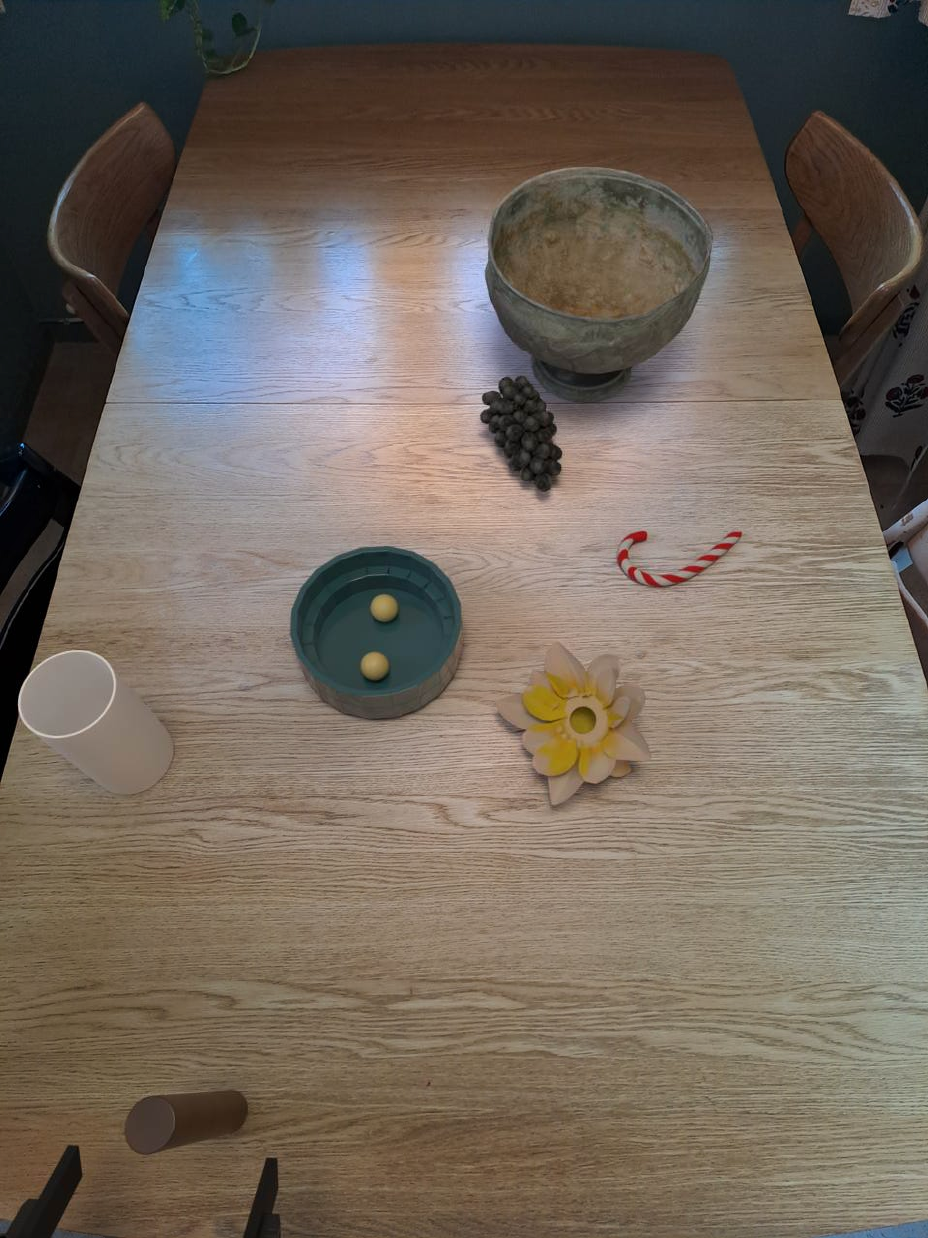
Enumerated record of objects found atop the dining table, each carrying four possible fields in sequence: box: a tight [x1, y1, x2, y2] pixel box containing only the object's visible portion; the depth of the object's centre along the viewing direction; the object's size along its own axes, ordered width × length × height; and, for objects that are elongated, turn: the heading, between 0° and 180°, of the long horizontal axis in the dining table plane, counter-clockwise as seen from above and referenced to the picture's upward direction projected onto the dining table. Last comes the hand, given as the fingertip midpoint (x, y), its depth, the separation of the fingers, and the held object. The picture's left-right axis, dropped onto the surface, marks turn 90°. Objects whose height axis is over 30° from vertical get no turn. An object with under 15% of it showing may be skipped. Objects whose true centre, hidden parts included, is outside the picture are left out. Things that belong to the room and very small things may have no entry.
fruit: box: [479, 375, 564, 493], centre depth 100 cm, size 9×8×15 cm
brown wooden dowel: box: [124, 1089, 249, 1156], centre depth 62 cm, size 3×3×20 cm
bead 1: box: [371, 594, 398, 622], centre depth 91 cm, size 3×3×3 cm
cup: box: [17, 649, 175, 796], centre depth 78 cm, size 8×8×16 cm
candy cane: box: [616, 528, 743, 587], centre depth 96 cm, size 8×1×15 cm
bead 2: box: [360, 652, 389, 681], centre depth 87 cm, size 3×3×3 cm
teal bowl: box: [289, 545, 463, 719], centre depth 88 cm, size 17×17×6 cm
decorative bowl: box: [484, 166, 714, 403], centre depth 102 cm, size 26×26×20 cm
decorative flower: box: [495, 640, 652, 806], centre depth 82 cm, size 15×11×10 cm
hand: (173, 1166), depth 57 cm, fingers open, 13 cm apart
